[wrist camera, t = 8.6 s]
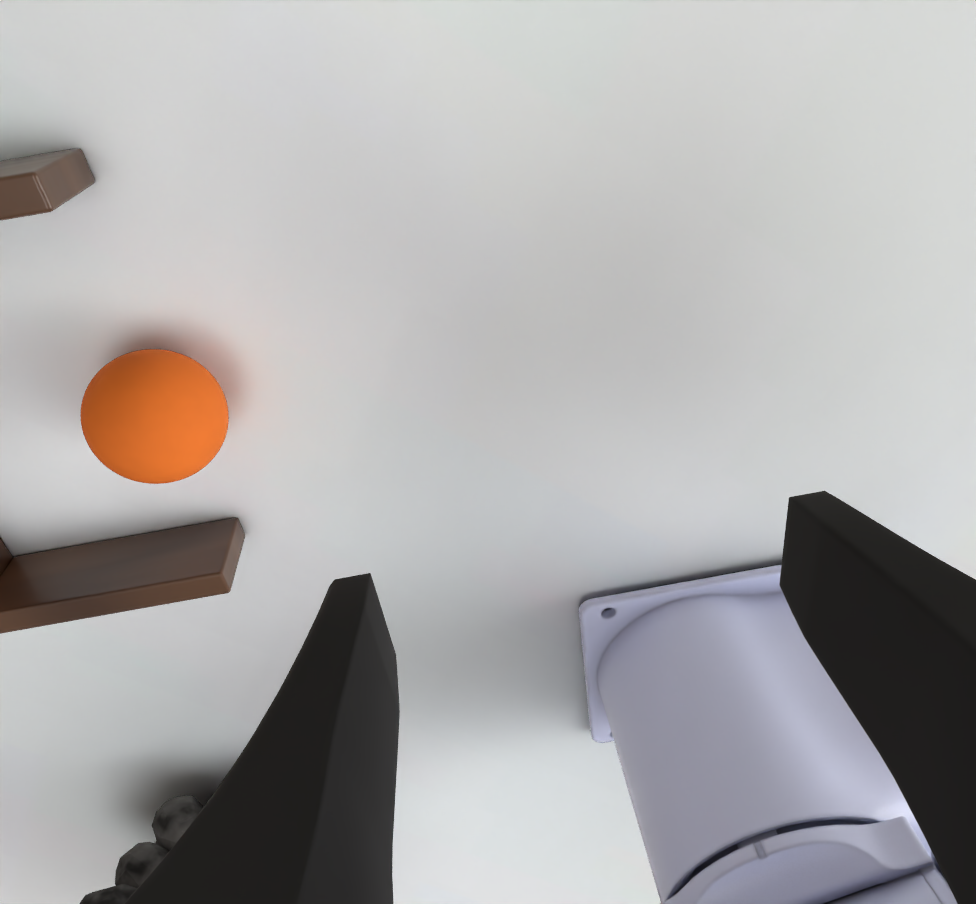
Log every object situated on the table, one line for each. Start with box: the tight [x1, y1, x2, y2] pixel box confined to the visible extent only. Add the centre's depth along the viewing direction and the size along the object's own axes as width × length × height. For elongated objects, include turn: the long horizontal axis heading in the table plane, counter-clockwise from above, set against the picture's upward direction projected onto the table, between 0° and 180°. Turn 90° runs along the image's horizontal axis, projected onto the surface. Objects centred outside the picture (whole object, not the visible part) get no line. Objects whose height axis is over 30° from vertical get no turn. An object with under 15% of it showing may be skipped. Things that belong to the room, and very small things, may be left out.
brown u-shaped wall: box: [0, 148, 245, 633], centre depth 18 cm, size 8×12×3 cm
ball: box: [81, 349, 229, 484], centre depth 18 cm, size 3×3×3 cm
